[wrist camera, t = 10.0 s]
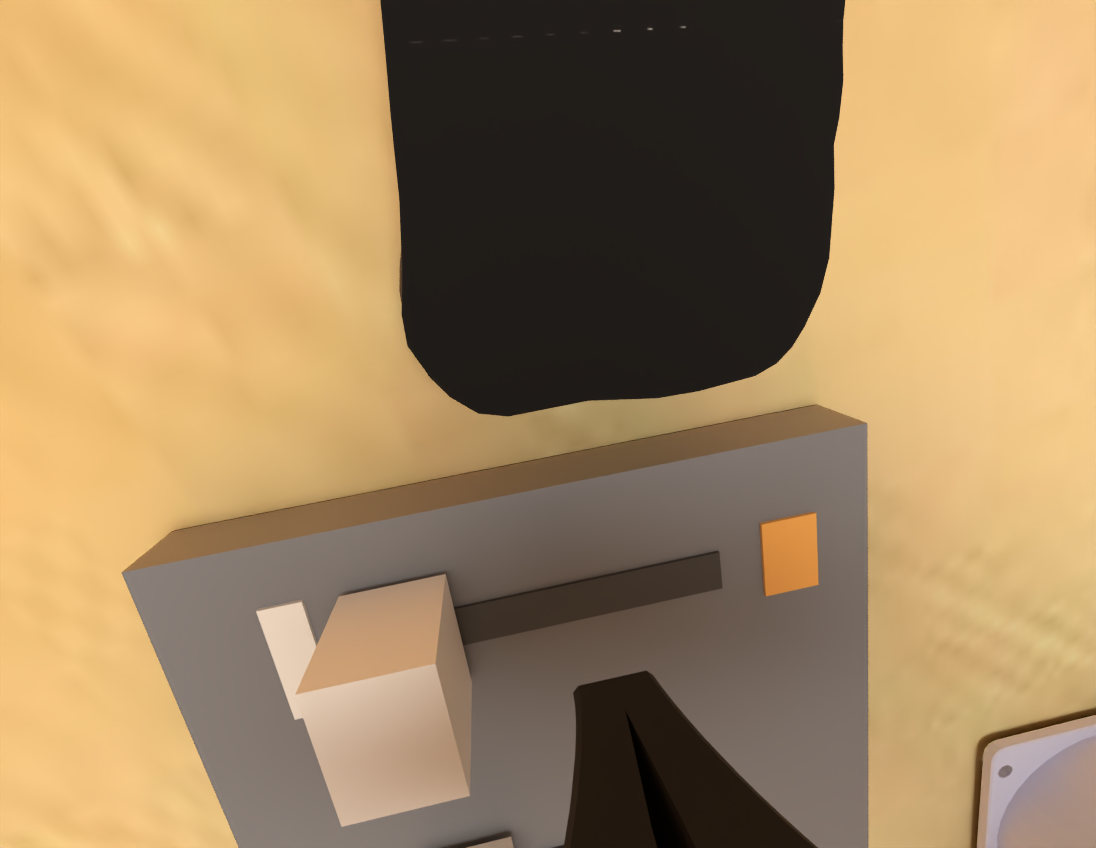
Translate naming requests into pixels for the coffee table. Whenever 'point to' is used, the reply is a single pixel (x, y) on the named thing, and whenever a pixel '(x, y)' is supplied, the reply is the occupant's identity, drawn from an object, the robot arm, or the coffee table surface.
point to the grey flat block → (549, 624)
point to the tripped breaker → (390, 701)
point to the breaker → (496, 844)
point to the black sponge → (610, 190)
